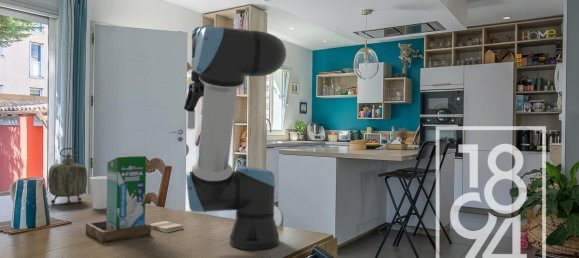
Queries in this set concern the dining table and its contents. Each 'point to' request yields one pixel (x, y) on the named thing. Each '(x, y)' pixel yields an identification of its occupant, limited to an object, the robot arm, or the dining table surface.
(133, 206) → the milk carton
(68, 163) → the tabletop clock
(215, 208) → the robot arm
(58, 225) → the dining table surface
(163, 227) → the beech board
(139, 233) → the tray
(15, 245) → the dining table surface
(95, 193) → the foam cup
